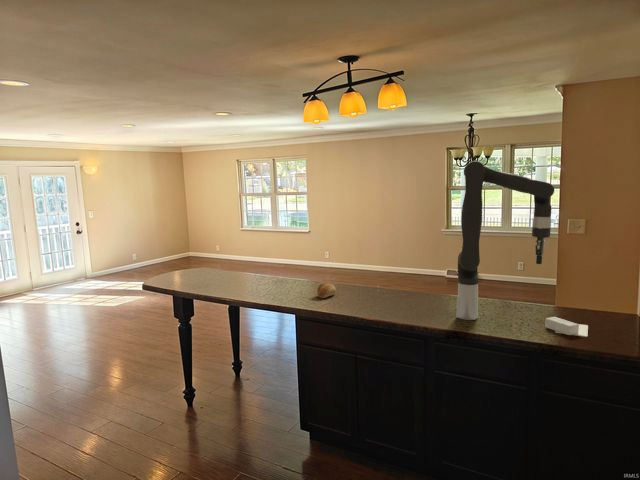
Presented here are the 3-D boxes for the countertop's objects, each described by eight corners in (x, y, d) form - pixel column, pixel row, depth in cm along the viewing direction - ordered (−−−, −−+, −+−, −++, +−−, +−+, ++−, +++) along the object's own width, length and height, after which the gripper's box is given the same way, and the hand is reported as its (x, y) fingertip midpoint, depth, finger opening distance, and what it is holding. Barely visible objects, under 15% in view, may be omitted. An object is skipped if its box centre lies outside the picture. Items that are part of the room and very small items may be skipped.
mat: (555, 332, 187) (555, 331, 187) (557, 322, 200) (557, 321, 200) (587, 337, 181) (587, 336, 180) (587, 326, 194) (588, 325, 194)
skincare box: (544, 327, 193) (568, 335, 182) (545, 317, 192) (568, 325, 181) (554, 325, 195) (578, 333, 184) (555, 316, 194) (579, 324, 183)
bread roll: (313, 298, 253) (312, 285, 252) (325, 292, 266) (325, 280, 265) (327, 300, 248) (327, 287, 247) (339, 294, 261) (339, 281, 260)
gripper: (534, 225, 204) (531, 260, 206) (530, 227, 193) (527, 265, 195) (552, 225, 200) (549, 262, 202) (549, 228, 189) (546, 267, 191)
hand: (538, 263), depth 199 cm, fingers closed
